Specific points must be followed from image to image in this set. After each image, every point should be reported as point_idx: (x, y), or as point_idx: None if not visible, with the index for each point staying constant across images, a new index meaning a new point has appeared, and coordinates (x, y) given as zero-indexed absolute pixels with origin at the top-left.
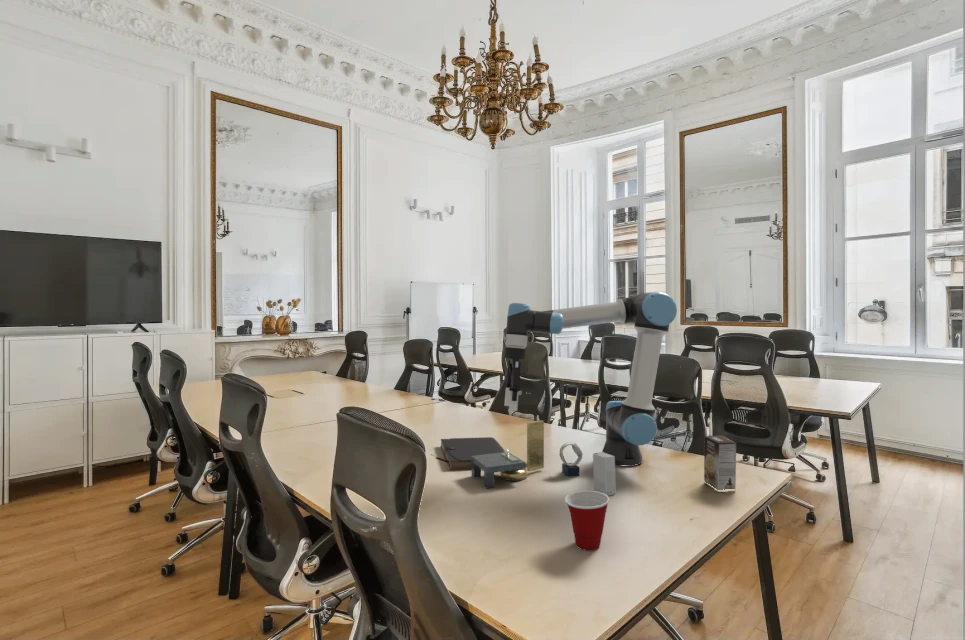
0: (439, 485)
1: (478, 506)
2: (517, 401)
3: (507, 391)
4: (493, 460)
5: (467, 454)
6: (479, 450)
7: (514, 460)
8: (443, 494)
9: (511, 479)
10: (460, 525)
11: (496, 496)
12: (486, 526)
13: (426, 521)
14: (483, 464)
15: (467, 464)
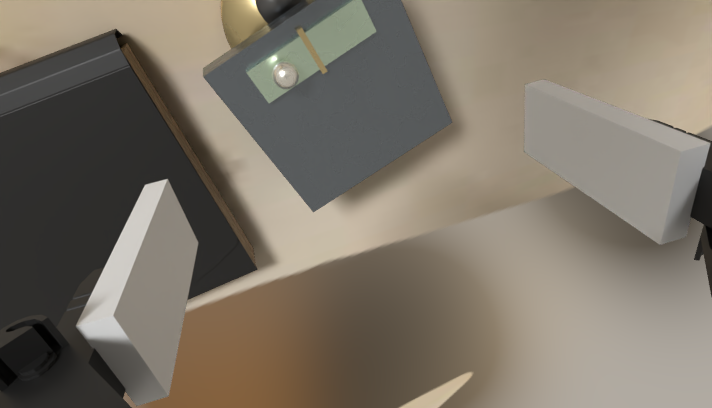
0: (394, 228)
1: None
2: (608, 108)
3: (168, 336)
4: (364, 116)
5: None
6: (42, 225)
7: (370, 19)
8: (458, 197)
9: None
10: (637, 106)
11: (481, 52)
12: (660, 44)
13: None
14: (418, 142)
15: (227, 215)
